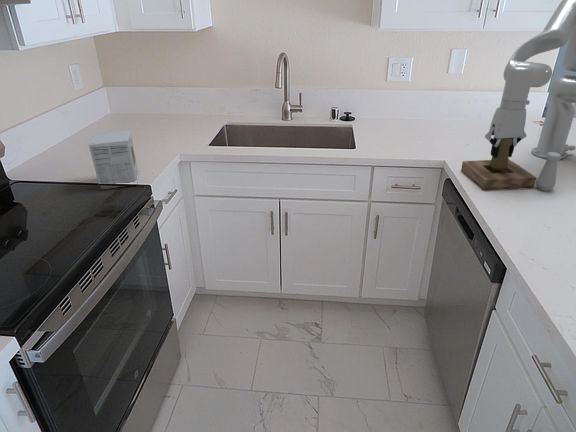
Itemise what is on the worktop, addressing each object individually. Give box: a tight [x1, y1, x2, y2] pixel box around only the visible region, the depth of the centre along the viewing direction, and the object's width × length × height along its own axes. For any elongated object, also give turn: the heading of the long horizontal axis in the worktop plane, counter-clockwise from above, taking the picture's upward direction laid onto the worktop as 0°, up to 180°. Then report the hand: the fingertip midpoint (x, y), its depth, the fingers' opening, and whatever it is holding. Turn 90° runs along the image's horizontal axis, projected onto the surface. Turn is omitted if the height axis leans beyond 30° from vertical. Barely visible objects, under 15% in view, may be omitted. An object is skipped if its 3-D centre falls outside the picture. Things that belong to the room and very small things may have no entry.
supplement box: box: [88, 130, 139, 185], centre depth 154 cm, size 13×13×18 cm
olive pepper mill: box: [489, 138, 513, 169], centre depth 147 cm, size 6×6×11 cm
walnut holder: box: [460, 158, 538, 192], centre depth 151 cm, size 18×18×4 cm
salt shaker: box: [535, 152, 562, 192], centre depth 141 cm, size 6×6×13 cm
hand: (501, 155), depth 148 cm, fingers closed on olive pepper mill, 4 cm apart
